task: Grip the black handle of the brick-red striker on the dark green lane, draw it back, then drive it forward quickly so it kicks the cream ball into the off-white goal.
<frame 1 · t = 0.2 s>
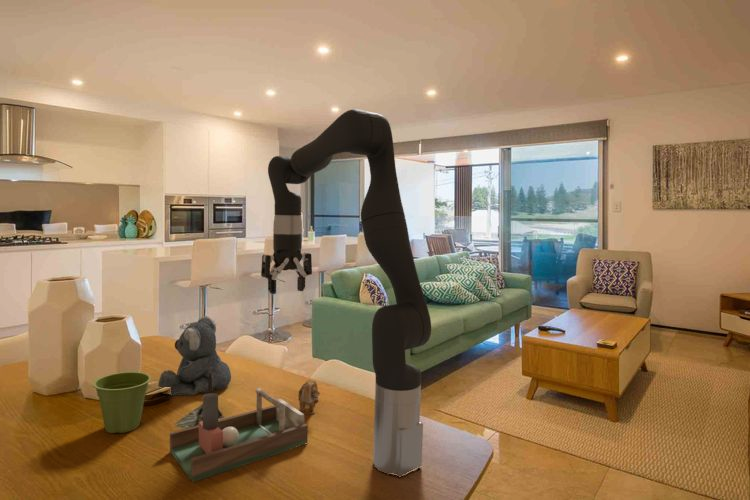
hand: (287, 292, 130), 29 cm above the table, tool pointing down, fingers open, 8 cm apart
lion figurine: (310, 410, 124), on the table
striker: (210, 423, 99), point 7 cm above the table, slide at 5.0 cm
ball: (229, 436, 102), point 3 cm above the table, touching pitch
eiffel tower figurine: (208, 417, 119), on the table
pitch: (240, 447, 104), on the table
koala plush: (199, 387, 138), on the table
plant pot: (123, 427, 112), on the table
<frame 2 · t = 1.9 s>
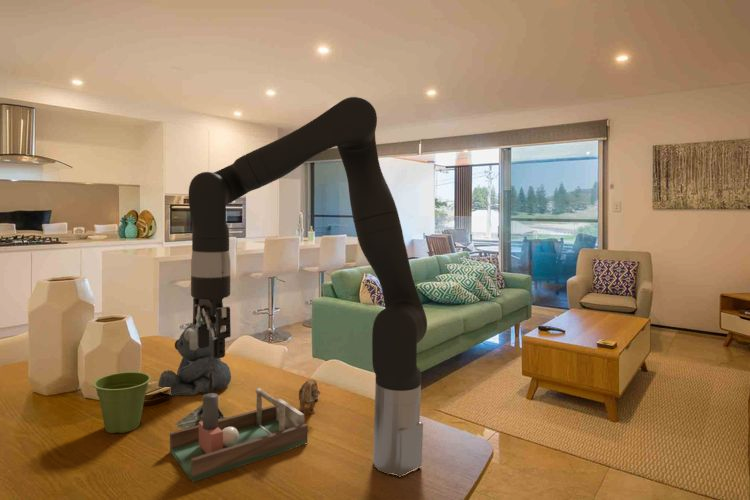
hand: (210, 352, 98), 22 cm above the table, tool pointing down, fingers open, 8 cm apart
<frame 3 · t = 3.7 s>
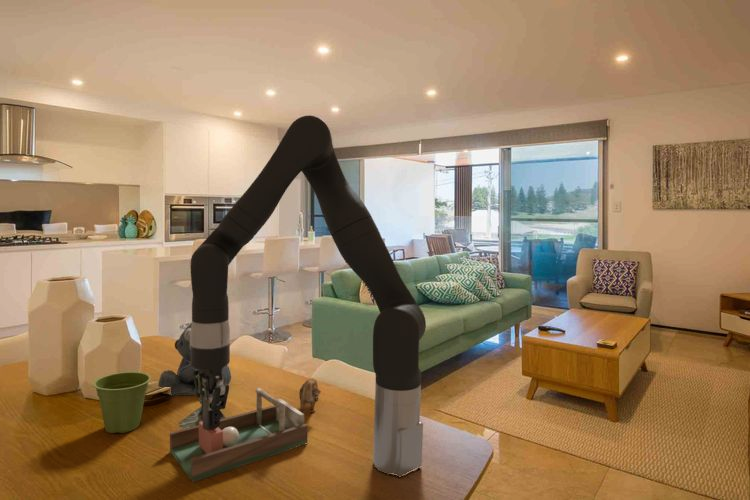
hand: (210, 423, 99), 7 cm above the table, tool pointing down, fingers closed on striker, 3 cm apart
striker: (210, 423, 99), point 7 cm above the table, slide at 5.0 cm, touching gripper
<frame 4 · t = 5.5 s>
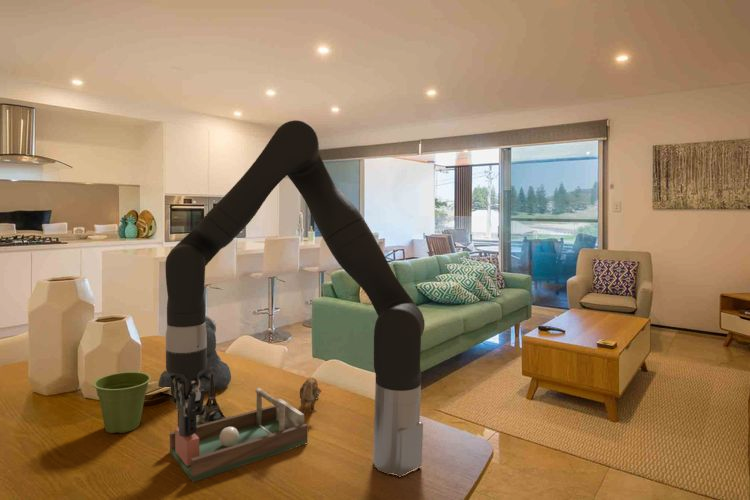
hand: (186, 429, 96), 7 cm above the table, tool pointing down, fingers closed on striker, 3 cm apart
striker: (187, 429, 96), point 7 cm above the table, slide at 0.3 cm, touching gripper
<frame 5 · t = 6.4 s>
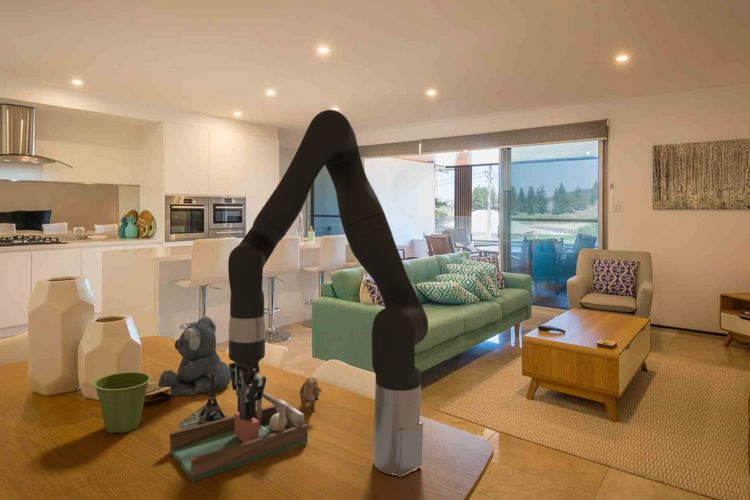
hand: (246, 414, 104), 7 cm above the table, tool pointing down, fingers closed on striker, 3 cm apart
striker: (246, 413, 104), point 7 cm above the table, slide at 12.9 cm, touching gripper
ball: (278, 422, 109), point 3 cm above the table, tilted 74°, touching pitch
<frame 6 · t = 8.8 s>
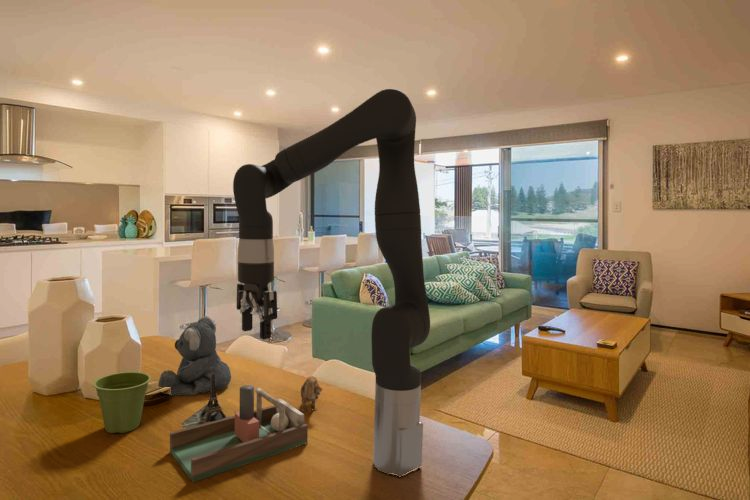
hand: (255, 334, 104), 24 cm above the table, tool pointing down, fingers open, 8 cm apart
striker: (246, 413, 104), point 7 cm above the table, slide at 12.9 cm
ball: (279, 422, 109), point 3 cm above the table, tilted 65°, touching pitch
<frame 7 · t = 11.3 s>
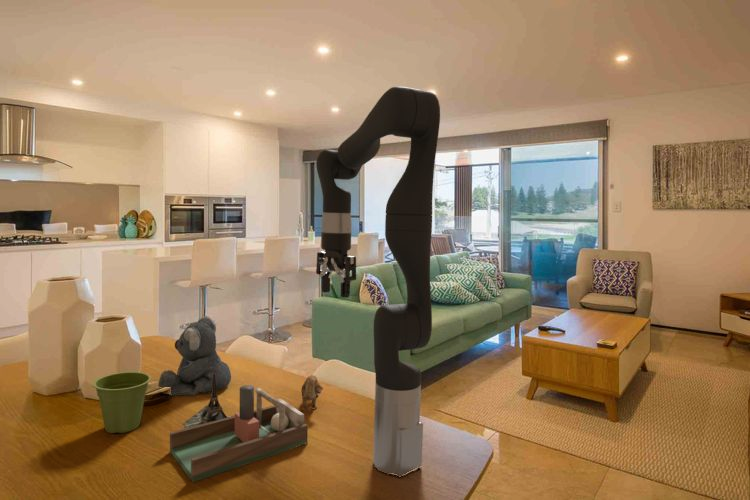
hand: (335, 294, 122), 30 cm above the table, tool pointing down, fingers open, 8 cm apart
at the end: ball inside the target area on the pitch (0.1 cm from its centre), point 3.2 cm above the pitch's base; striker slide at 12.9 cm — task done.
